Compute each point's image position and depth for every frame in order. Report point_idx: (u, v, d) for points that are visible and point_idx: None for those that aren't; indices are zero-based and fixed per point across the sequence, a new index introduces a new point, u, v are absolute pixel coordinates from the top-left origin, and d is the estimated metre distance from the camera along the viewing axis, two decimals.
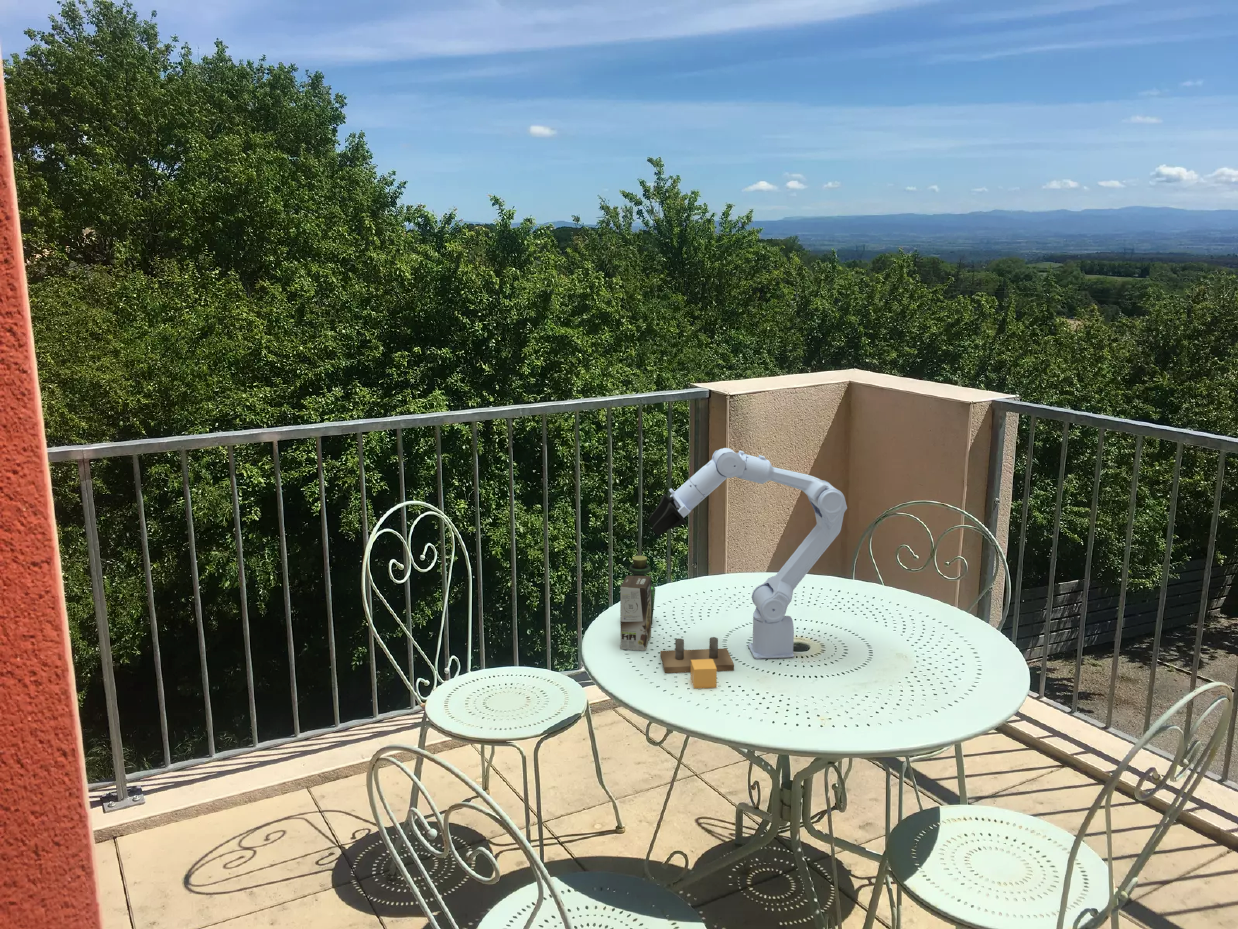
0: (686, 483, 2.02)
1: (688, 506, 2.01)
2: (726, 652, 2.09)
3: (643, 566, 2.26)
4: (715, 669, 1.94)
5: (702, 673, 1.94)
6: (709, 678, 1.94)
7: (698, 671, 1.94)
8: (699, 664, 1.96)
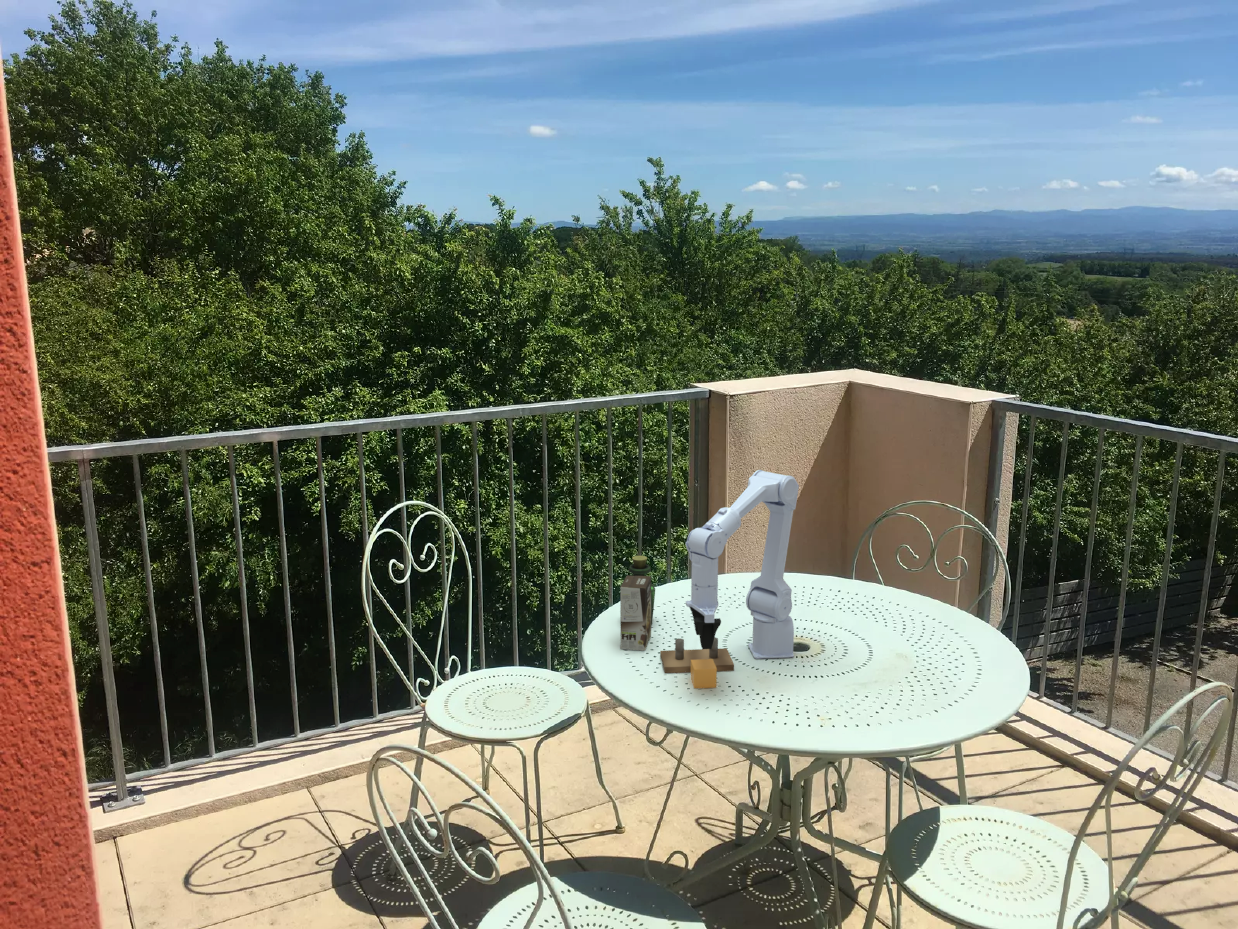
0: (692, 588, 1.91)
1: (711, 604, 1.90)
2: (726, 652, 2.09)
3: (643, 566, 2.26)
4: (715, 669, 1.94)
5: (702, 673, 1.94)
6: (709, 678, 1.94)
7: (698, 671, 1.94)
8: (699, 664, 1.96)
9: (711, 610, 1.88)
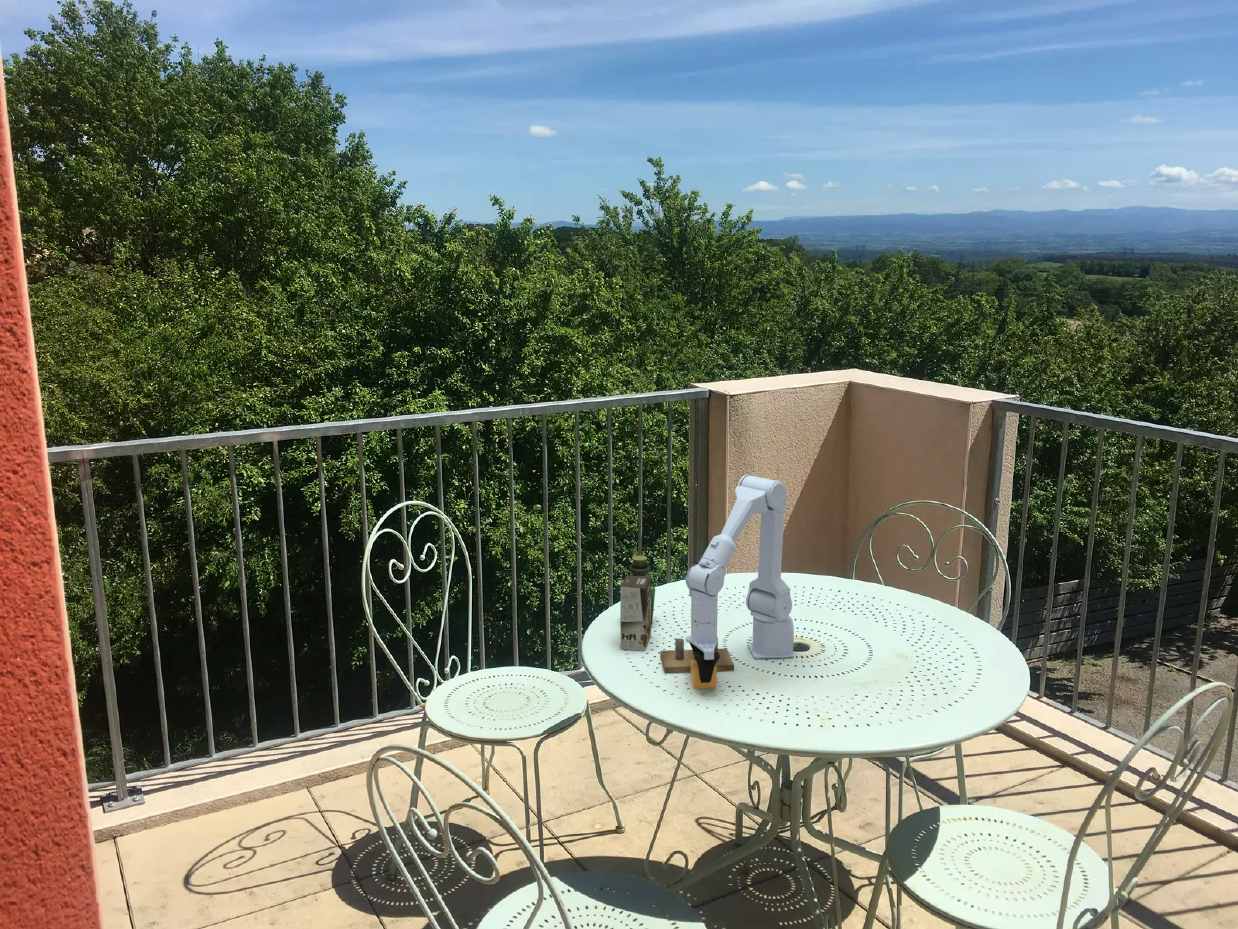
0: (692, 624, 1.93)
1: (710, 641, 1.92)
2: (726, 652, 2.09)
3: (643, 566, 2.26)
4: (715, 669, 1.94)
5: None
6: None
7: (698, 671, 1.94)
8: None
9: (711, 646, 1.90)
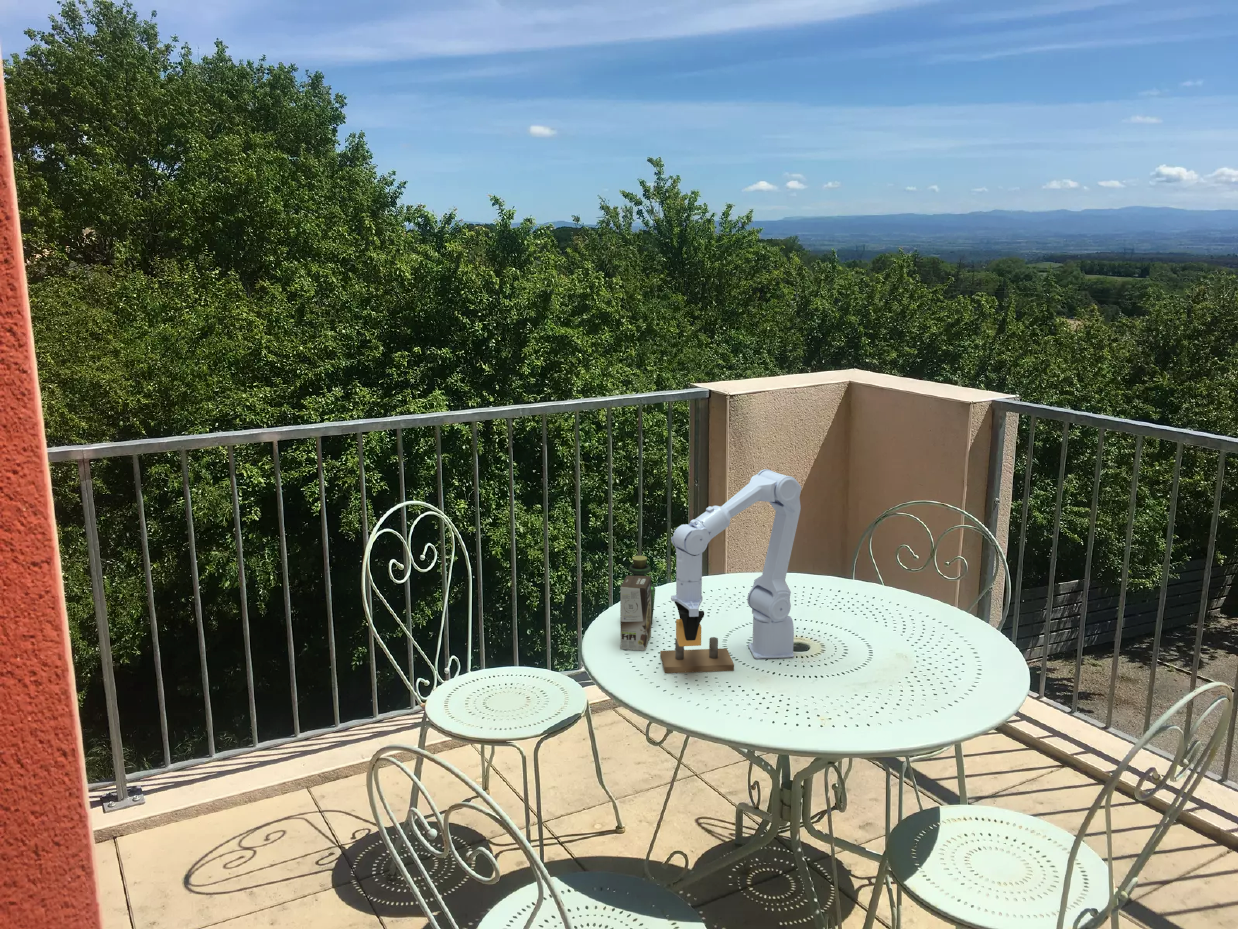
0: (677, 583, 1.97)
1: (695, 599, 1.97)
2: (726, 652, 2.09)
3: (643, 566, 2.26)
4: (699, 627, 1.98)
5: None
6: None
7: (683, 629, 1.98)
8: None
9: (695, 604, 1.95)
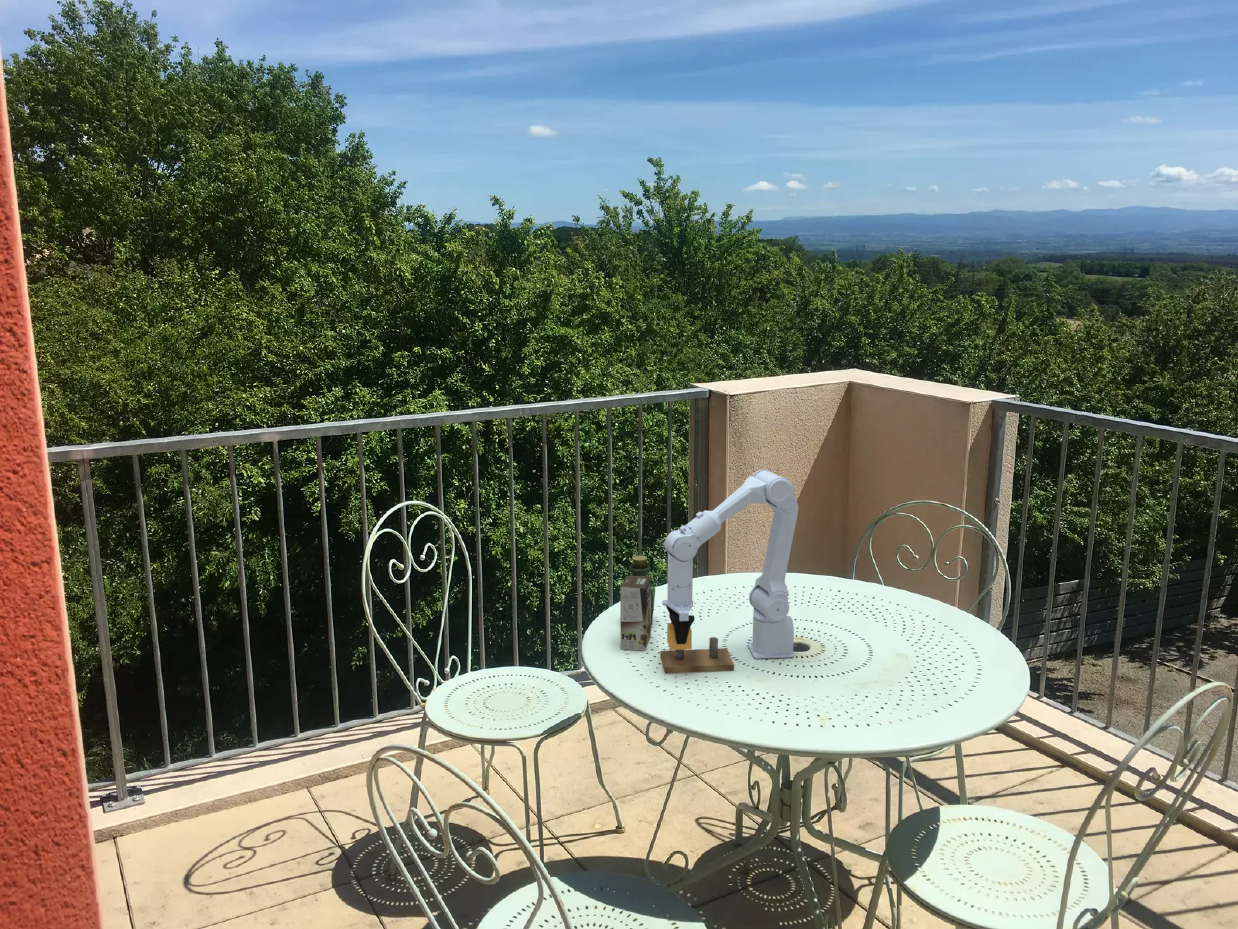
0: (668, 588, 2.02)
1: (686, 604, 2.01)
2: (726, 652, 2.09)
3: (643, 566, 2.26)
4: (690, 631, 2.02)
5: None
6: None
7: (674, 633, 2.02)
8: None
9: (686, 609, 1.99)
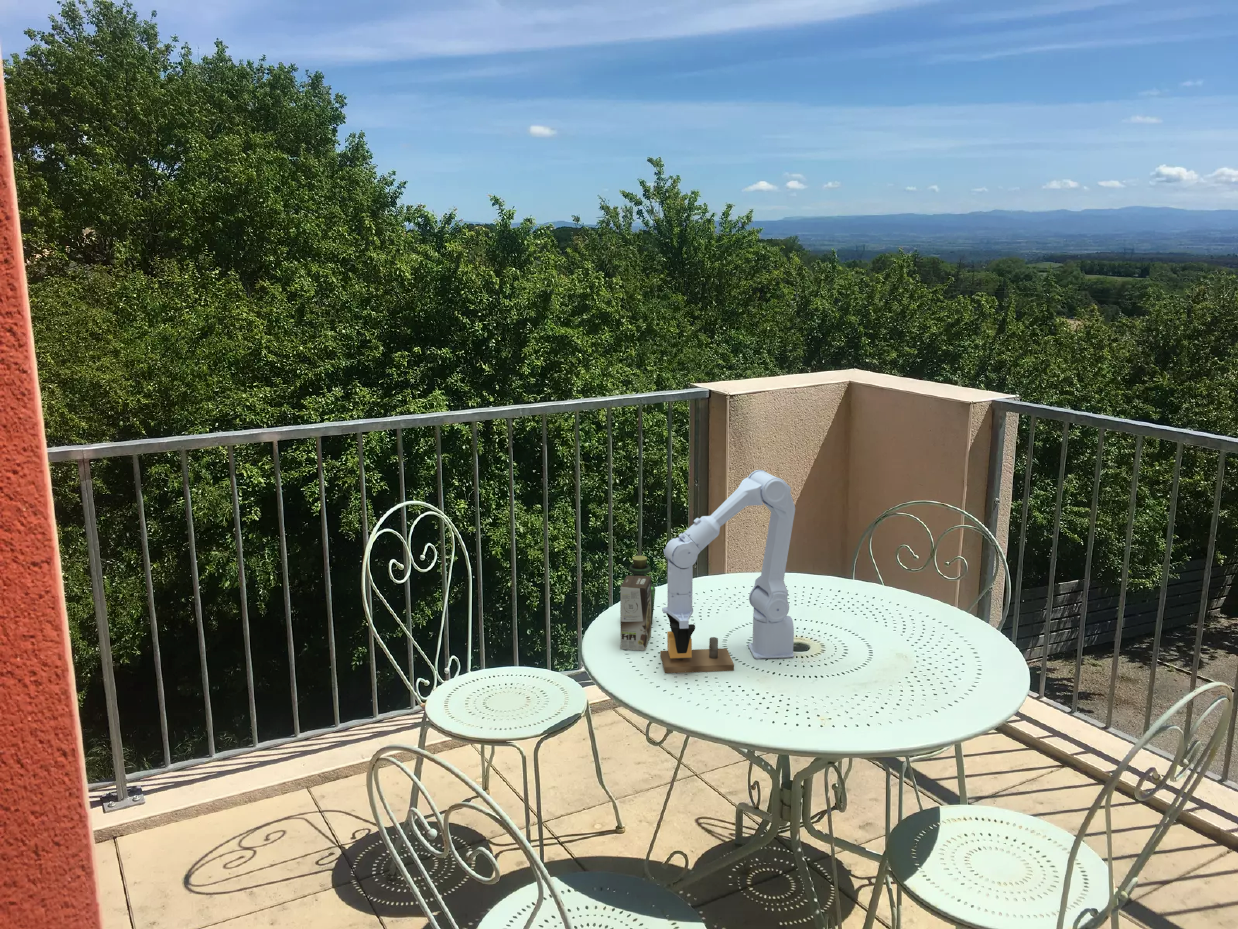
0: (668, 596, 2.02)
1: (686, 611, 2.01)
2: (726, 652, 2.09)
3: (643, 566, 2.26)
4: (690, 639, 2.03)
5: None
6: None
7: (674, 642, 2.03)
8: None
9: (686, 616, 1.99)
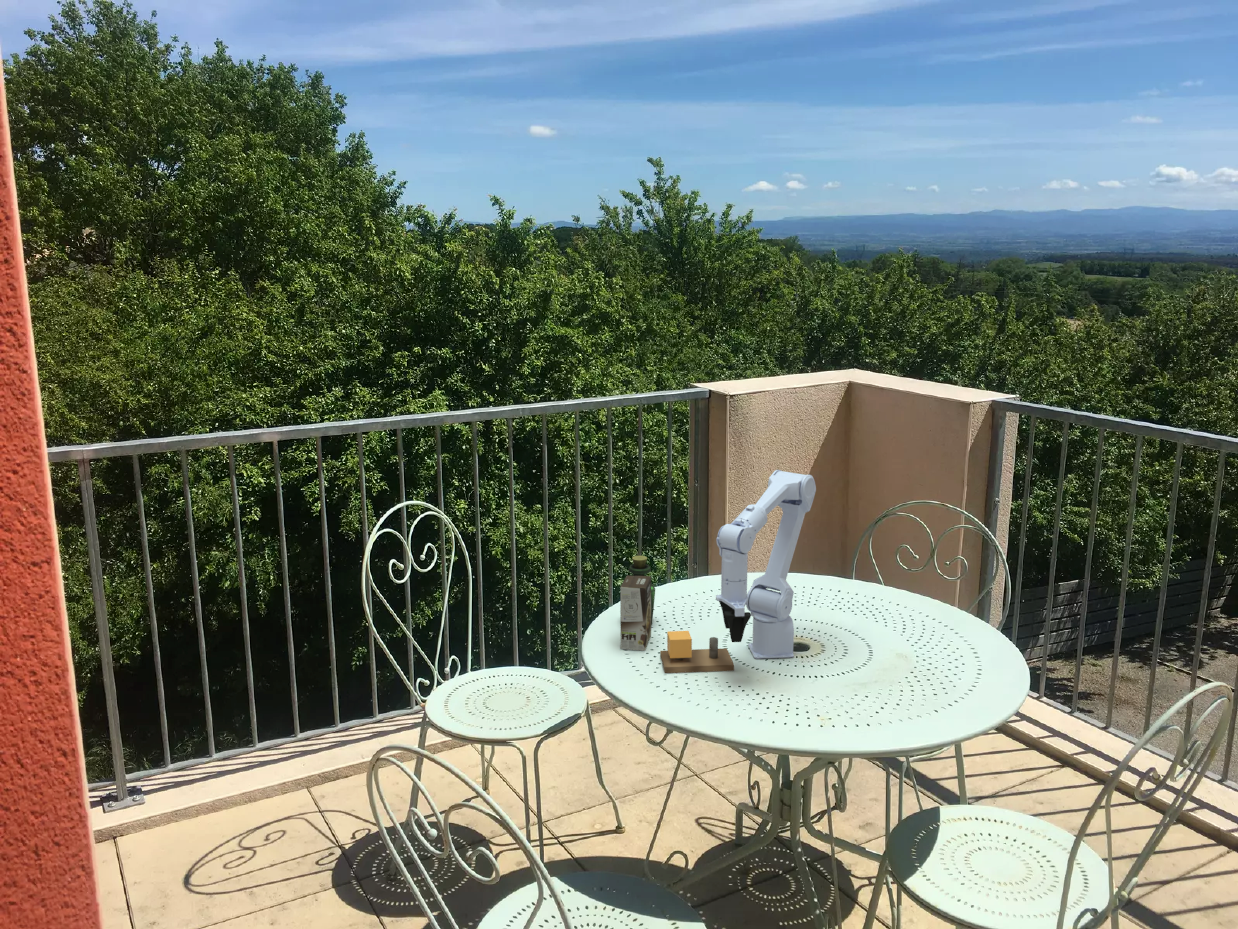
0: (722, 583, 1.96)
1: (741, 599, 1.95)
2: (726, 652, 2.09)
3: (643, 566, 2.26)
4: (690, 639, 2.03)
5: (678, 643, 2.03)
6: (685, 648, 2.03)
7: (674, 641, 2.02)
8: (675, 635, 2.05)
9: (741, 604, 1.93)
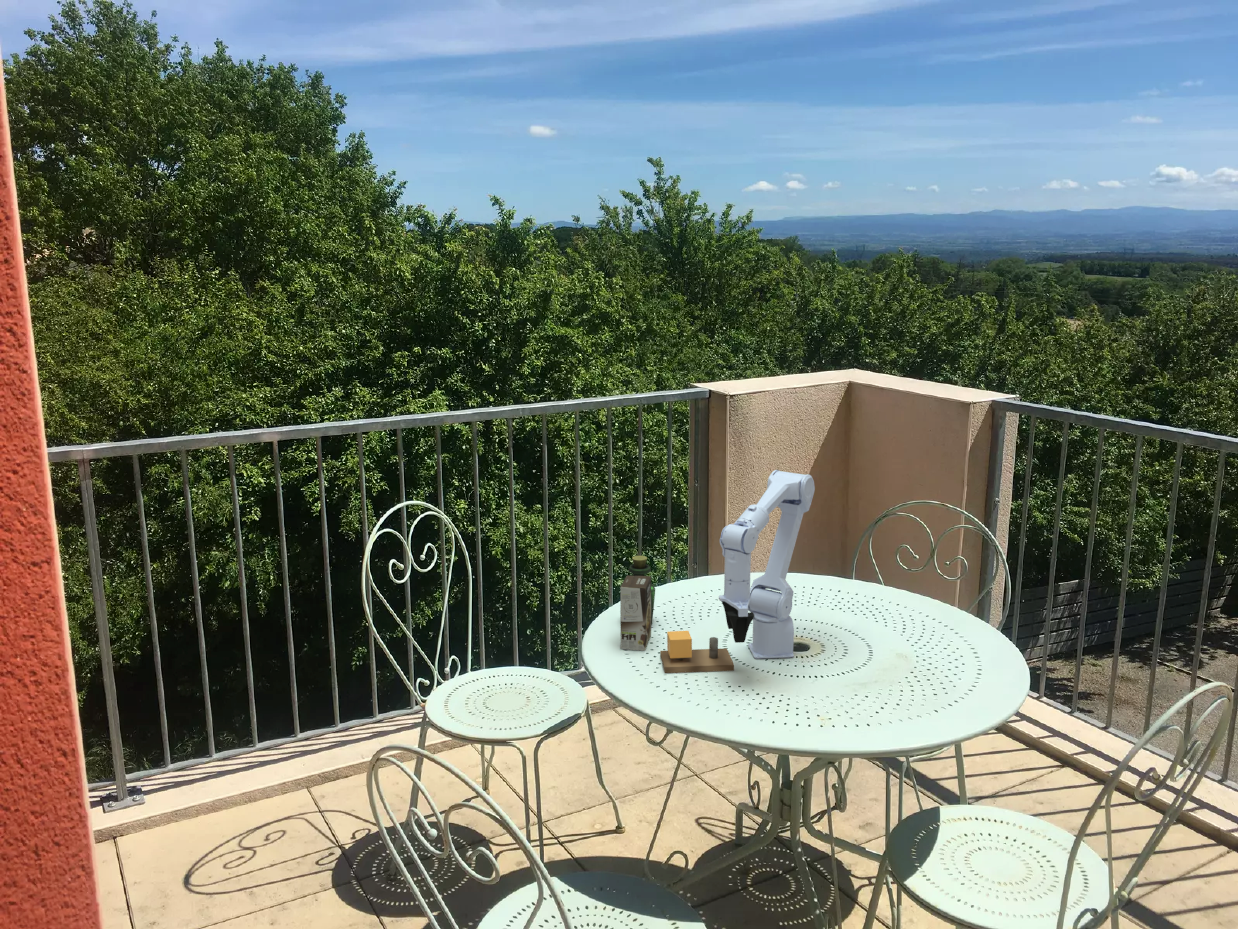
0: (725, 583, 1.96)
1: (744, 599, 1.95)
2: (726, 652, 2.09)
3: (643, 566, 2.26)
4: (690, 639, 2.03)
5: (678, 643, 2.03)
6: (685, 648, 2.03)
7: (674, 641, 2.02)
8: (675, 635, 2.05)
9: (744, 604, 1.93)
